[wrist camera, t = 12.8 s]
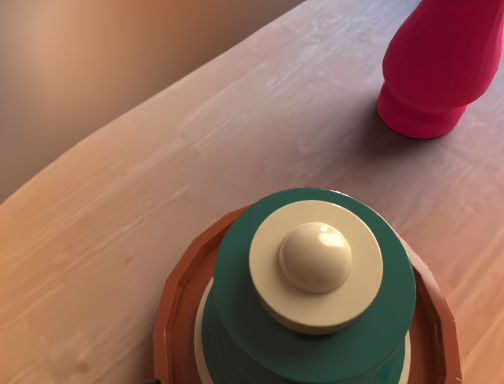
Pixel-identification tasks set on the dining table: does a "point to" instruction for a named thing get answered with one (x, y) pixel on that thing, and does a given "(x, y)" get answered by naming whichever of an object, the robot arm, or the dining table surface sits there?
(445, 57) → the pepper mill
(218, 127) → the dining table surface
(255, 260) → the tagine lid
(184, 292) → the tagine base
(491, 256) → the dining table surface
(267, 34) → the dining table surface
